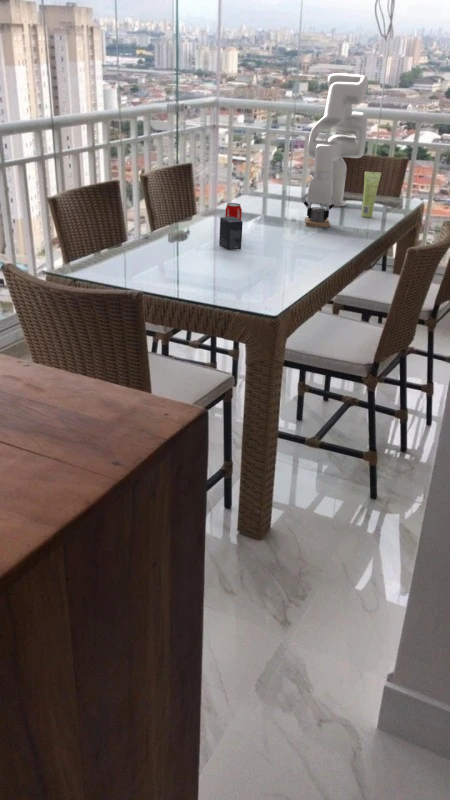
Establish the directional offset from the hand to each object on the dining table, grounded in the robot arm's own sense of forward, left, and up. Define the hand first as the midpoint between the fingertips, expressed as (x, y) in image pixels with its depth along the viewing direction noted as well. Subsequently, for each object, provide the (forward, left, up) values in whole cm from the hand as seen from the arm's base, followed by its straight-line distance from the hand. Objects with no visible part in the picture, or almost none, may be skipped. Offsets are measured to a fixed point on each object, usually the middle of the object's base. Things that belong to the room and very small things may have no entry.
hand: (317, 218), depth 300 cm
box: (+46, -35, -3) cm, 58 cm away
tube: (-21, +24, -3) cm, 32 cm away
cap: (0, 0, -1) cm, 1 cm away
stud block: (0, 0, -2) cm, 2 cm away
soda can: (+28, -35, -3) cm, 45 cm away
